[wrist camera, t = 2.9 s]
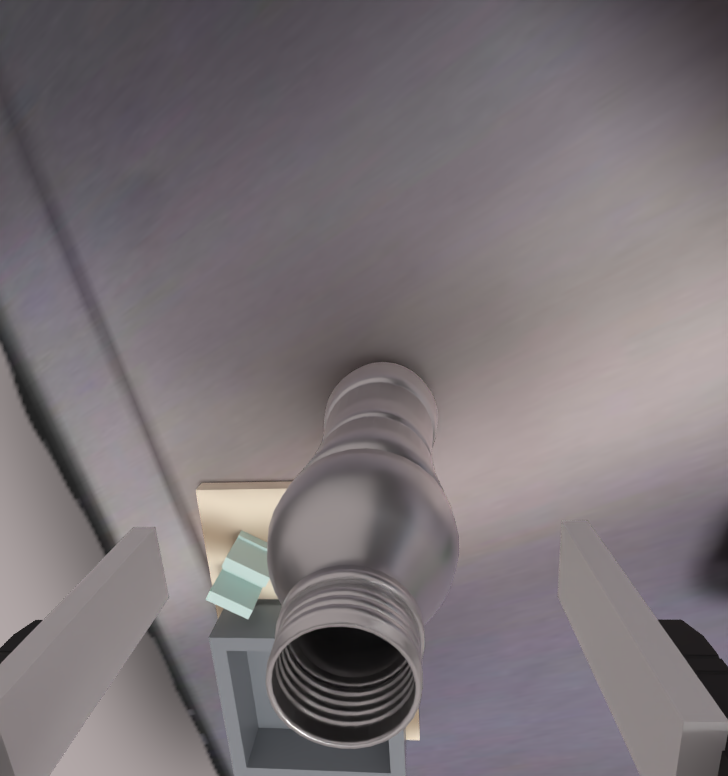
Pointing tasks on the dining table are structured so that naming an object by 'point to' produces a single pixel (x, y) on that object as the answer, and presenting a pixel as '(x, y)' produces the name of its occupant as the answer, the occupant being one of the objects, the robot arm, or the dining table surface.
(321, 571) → the plastic bottle
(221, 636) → the holder
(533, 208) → the dining table surface
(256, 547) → the clip
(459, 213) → the dining table surface
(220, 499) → the board
